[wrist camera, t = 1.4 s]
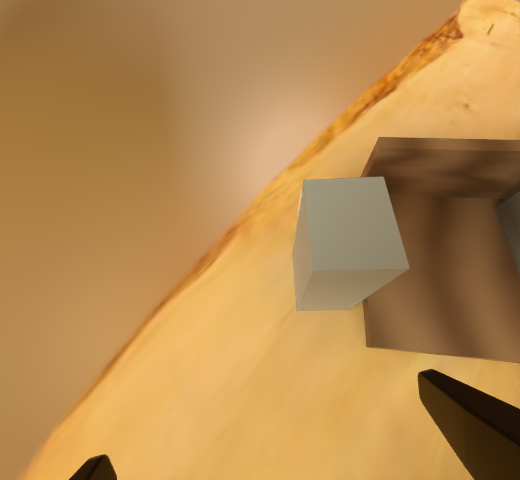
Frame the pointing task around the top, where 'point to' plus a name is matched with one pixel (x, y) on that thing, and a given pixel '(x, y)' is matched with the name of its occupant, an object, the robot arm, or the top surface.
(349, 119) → the top surface
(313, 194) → the grey upright block
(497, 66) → the top surface
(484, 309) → the wooden l-bracket
